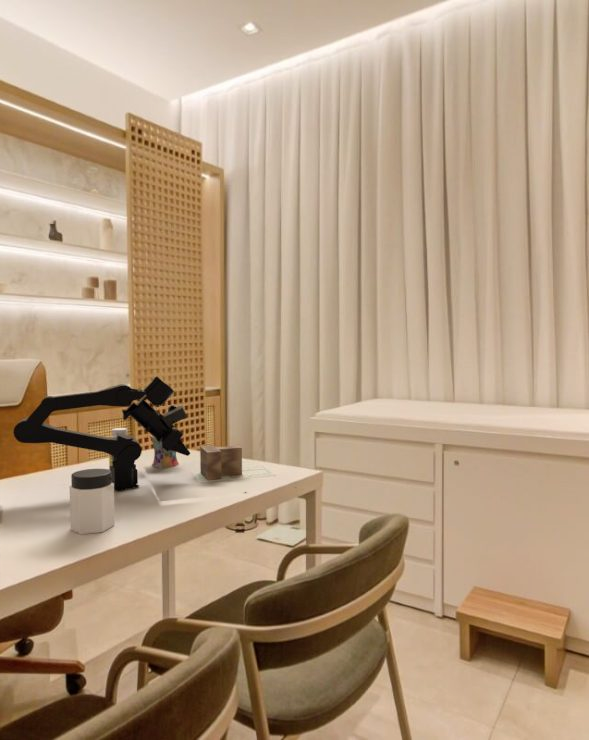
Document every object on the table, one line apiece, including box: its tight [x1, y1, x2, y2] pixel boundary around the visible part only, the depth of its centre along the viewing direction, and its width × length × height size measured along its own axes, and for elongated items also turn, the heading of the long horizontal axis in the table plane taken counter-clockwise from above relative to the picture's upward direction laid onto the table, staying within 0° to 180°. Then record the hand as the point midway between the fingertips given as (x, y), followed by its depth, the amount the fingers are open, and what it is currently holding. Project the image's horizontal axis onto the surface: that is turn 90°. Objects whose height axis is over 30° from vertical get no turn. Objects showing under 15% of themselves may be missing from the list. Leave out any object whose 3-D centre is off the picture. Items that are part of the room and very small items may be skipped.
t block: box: [199, 445, 243, 480], centre depth 158 cm, size 11×10×8 cm
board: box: [191, 465, 276, 484], centre depth 160 cm, size 22×13×1 cm, turn 111°
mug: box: [149, 434, 179, 469], centre depth 174 cm, size 12×9×11 cm
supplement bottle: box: [108, 427, 128, 469], centre depth 171 cm, size 7×7×13 cm
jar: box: [68, 468, 116, 535], centre depth 116 cm, size 9×8×12 cm
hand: (189, 454), depth 155 cm, fingers closed
